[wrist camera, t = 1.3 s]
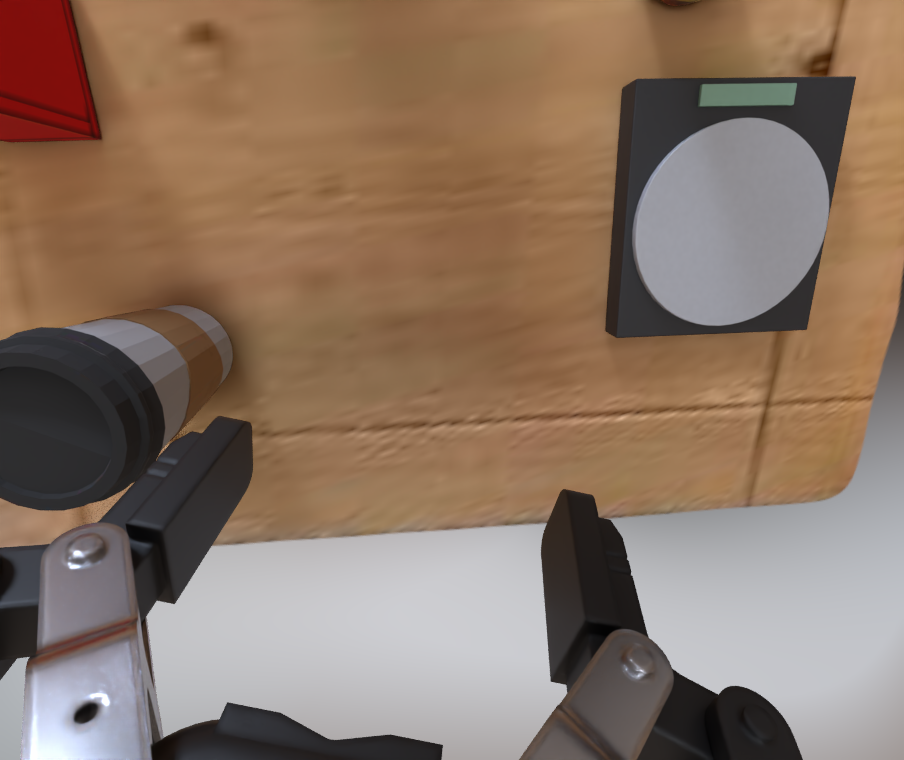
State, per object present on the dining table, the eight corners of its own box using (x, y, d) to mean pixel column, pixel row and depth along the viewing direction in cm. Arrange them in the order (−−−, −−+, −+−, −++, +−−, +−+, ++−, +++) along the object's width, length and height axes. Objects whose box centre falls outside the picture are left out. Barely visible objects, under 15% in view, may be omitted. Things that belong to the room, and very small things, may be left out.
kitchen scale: (621, 87, 32) (640, 75, 29) (828, 85, 33) (865, 73, 30) (605, 331, 37) (619, 340, 34) (785, 324, 38) (813, 331, 35)
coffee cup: (145, 268, 33) (-56, 304, 19) (266, 319, 35) (164, 387, 21) (112, 377, 35) (-91, 482, 21) (228, 420, 37) (112, 546, 23)
